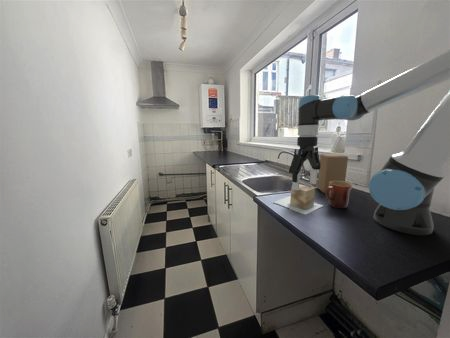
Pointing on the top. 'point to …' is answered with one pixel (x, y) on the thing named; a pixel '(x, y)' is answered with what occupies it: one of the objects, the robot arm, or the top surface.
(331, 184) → the mug
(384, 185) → the robot arm
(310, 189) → the oak block
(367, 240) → the top surface
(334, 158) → the wooden block
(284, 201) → the board
